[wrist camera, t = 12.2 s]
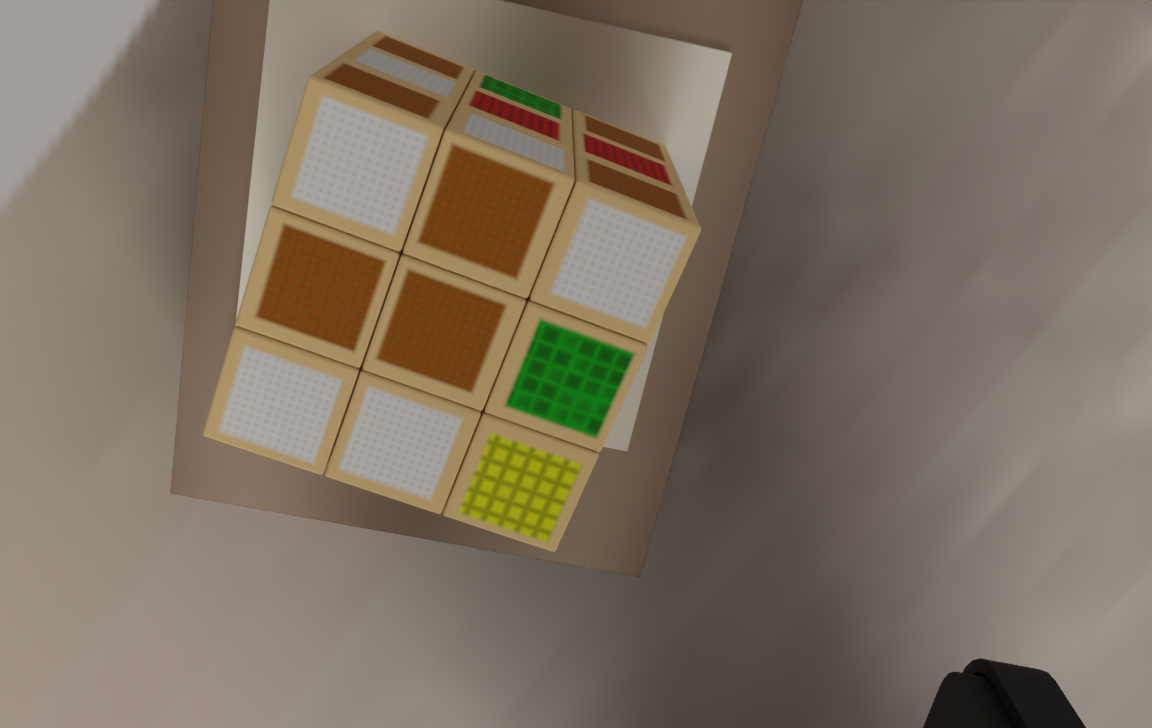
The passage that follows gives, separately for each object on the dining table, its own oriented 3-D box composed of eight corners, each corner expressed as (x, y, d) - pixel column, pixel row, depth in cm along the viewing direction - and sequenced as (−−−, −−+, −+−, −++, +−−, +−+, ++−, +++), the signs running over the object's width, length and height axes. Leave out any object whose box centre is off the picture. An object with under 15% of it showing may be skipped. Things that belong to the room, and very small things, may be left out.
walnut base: (789, -113, 22) (838, -116, 18) (628, 486, 27) (640, 582, 23) (292, -232, 21) (232, -263, 17) (225, 411, 26) (167, 497, 23)
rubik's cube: (556, 402, 22) (555, 554, 17) (288, 308, 21) (201, 436, 16) (666, 146, 20) (702, 228, 15) (375, 30, 19) (308, 75, 14)
